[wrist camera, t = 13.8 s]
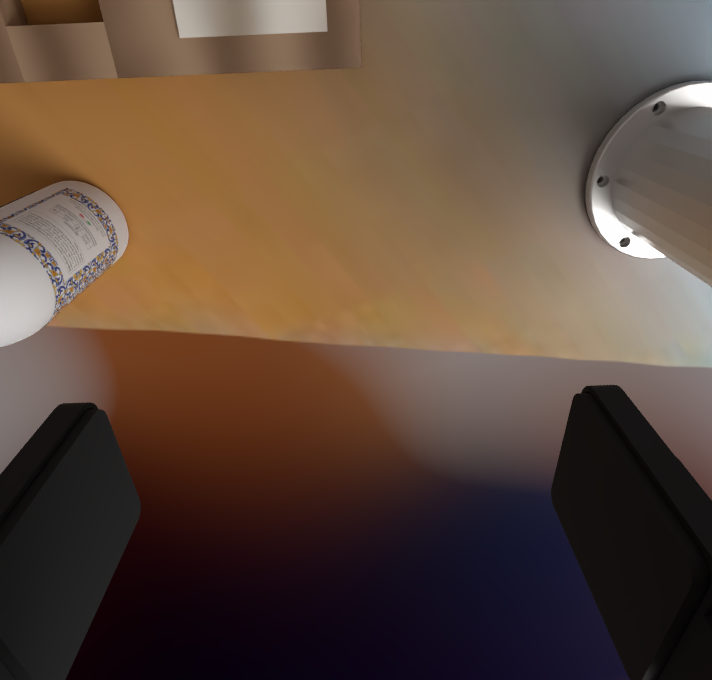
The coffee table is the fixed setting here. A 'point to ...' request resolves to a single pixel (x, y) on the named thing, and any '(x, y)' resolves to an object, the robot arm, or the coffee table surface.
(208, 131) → the coffee table surface
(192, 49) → the walnut frame
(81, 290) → the bath foam
